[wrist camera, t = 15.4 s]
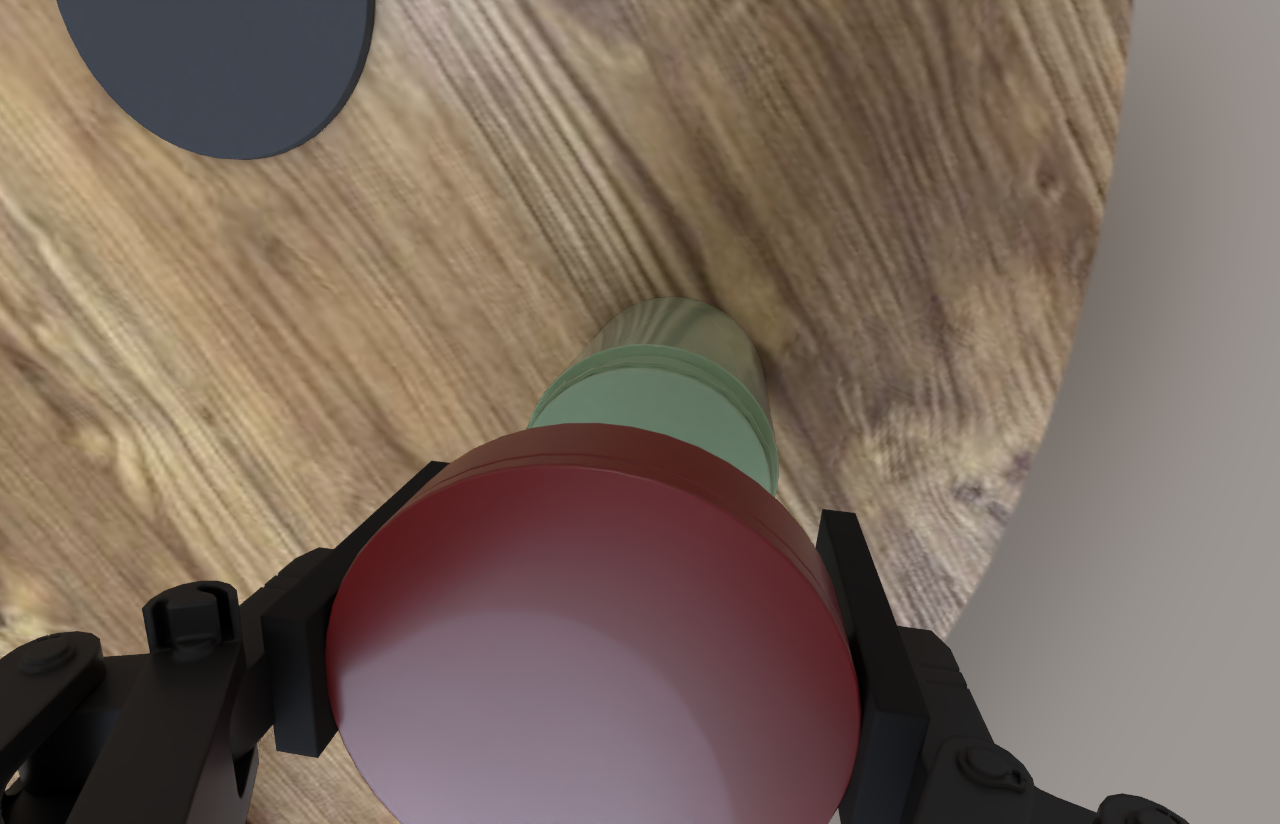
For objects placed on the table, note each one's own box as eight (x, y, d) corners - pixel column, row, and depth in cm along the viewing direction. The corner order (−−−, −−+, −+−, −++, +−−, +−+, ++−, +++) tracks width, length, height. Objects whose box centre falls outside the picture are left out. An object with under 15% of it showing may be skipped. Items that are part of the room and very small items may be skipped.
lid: (327, 440, 12) (258, 484, 11) (833, 400, 11) (852, 442, 9) (432, 820, 15) (391, 906, 13) (852, 828, 13) (869, 925, 12)
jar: (740, 275, 27) (746, 325, 17) (782, 452, 30) (809, 587, 20) (559, 323, 29) (469, 394, 19) (611, 488, 31) (554, 630, 21)
